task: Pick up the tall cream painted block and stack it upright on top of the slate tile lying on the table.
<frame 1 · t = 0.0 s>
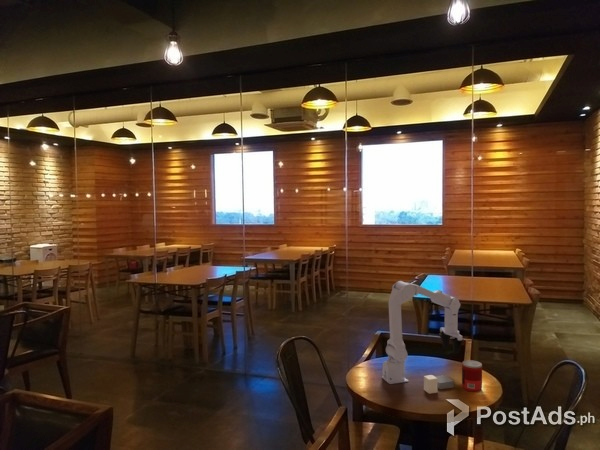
hand: (450, 351, 205), 10 cm above the table, tool pointing down, fingers open, 7 cm apart
cream block: (430, 391, 186), on the table
slate tile: (441, 385, 192), on the table
canned food: (471, 389, 188), on the table
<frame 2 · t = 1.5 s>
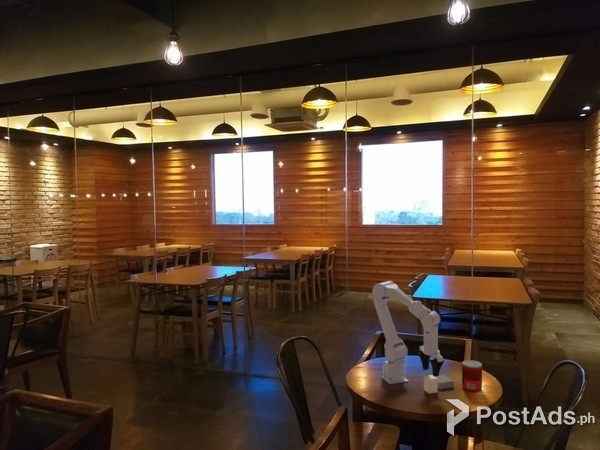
hand: (430, 372, 185), 8 cm above the table, tool pointing down, fingers open, 7 cm apart
nothing on the table moved.
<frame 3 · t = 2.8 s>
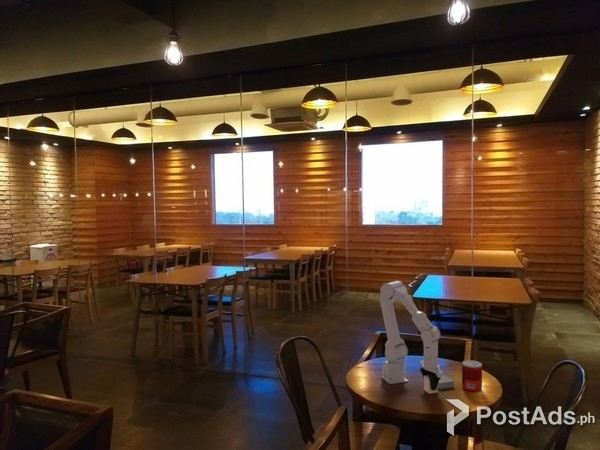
hand: (430, 387, 186), 1 cm above the table, tool pointing down, fingers closed on cream block, 4 cm apart
cream block: (430, 391, 186), on the table, touching gripper
everything else where it was.
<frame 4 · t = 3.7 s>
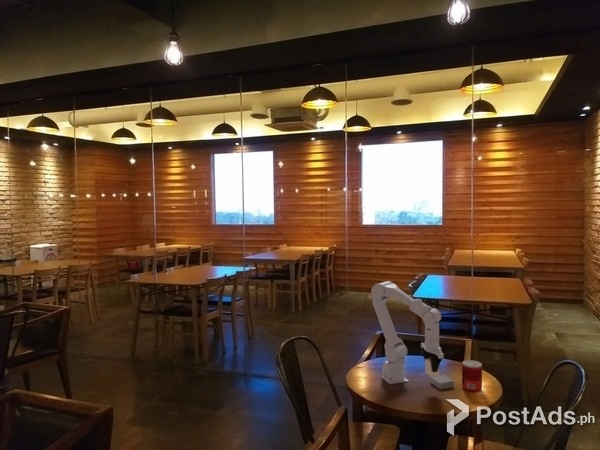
hand: (431, 369, 186), 9 cm above the table, tool pointing down, fingers closed on cream block, 4 cm apart
cream block: (432, 374, 186), point 7 cm above the table, touching gripper
everything else where it was.
when the fingers open (6 cm above the table, at t = 5.1 s): cream block drops 1 cm, resting on slate tile.
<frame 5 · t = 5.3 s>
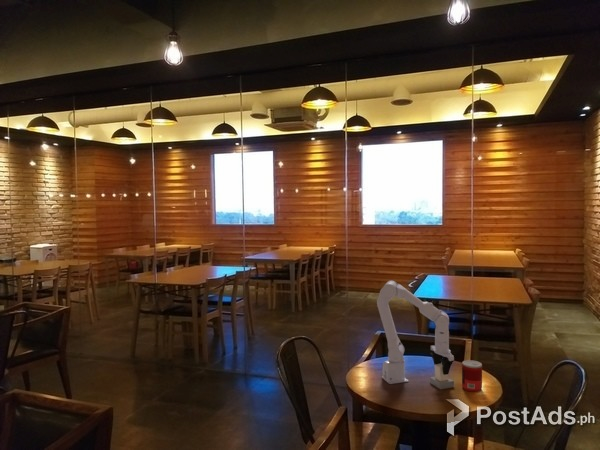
hand: (441, 371, 191), 6 cm above the table, tool pointing down, fingers open, 5 cm apart
cream block: (441, 378, 192), point 3 cm above the table, touching slate tile
slate tile: (441, 385, 192), on the table, touching cream block
everything else where it was.
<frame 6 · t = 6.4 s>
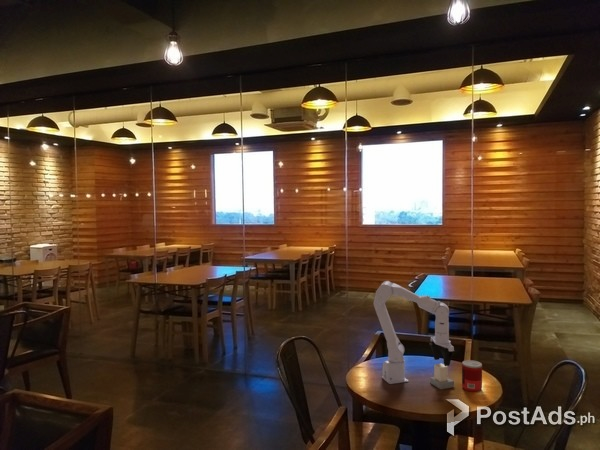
hand: (441, 362, 191), 10 cm above the table, tool pointing down, fingers open, 7 cm apart
nothing on the table moved.
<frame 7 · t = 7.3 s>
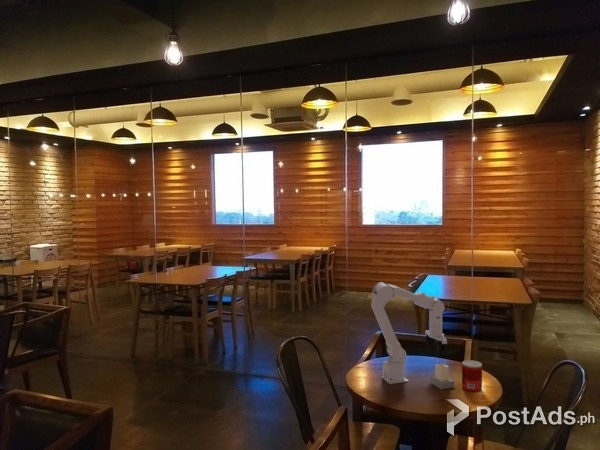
hand: (435, 354, 199), 10 cm above the table, tool pointing down, fingers open, 7 cm apart
nothing on the table moved.
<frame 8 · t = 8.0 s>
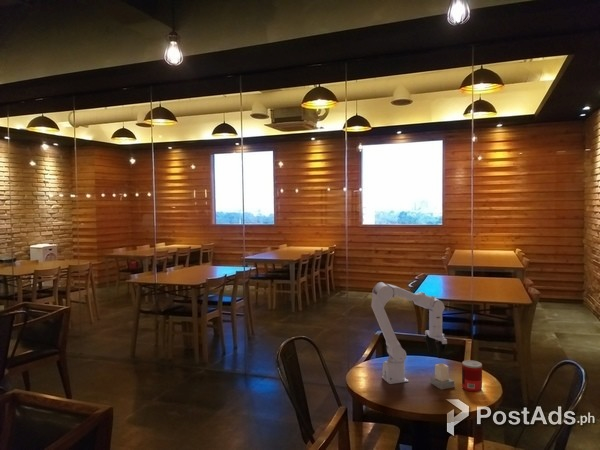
hand: (435, 354, 199), 10 cm above the table, tool pointing down, fingers open, 7 cm apart
nothing on the table moved.
at the end: cream block 0.2 cm off-centre on the slate tile, point 3.0 cm above the slate tile's base; cream block tilted 1°; the gripper is holding nothing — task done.
